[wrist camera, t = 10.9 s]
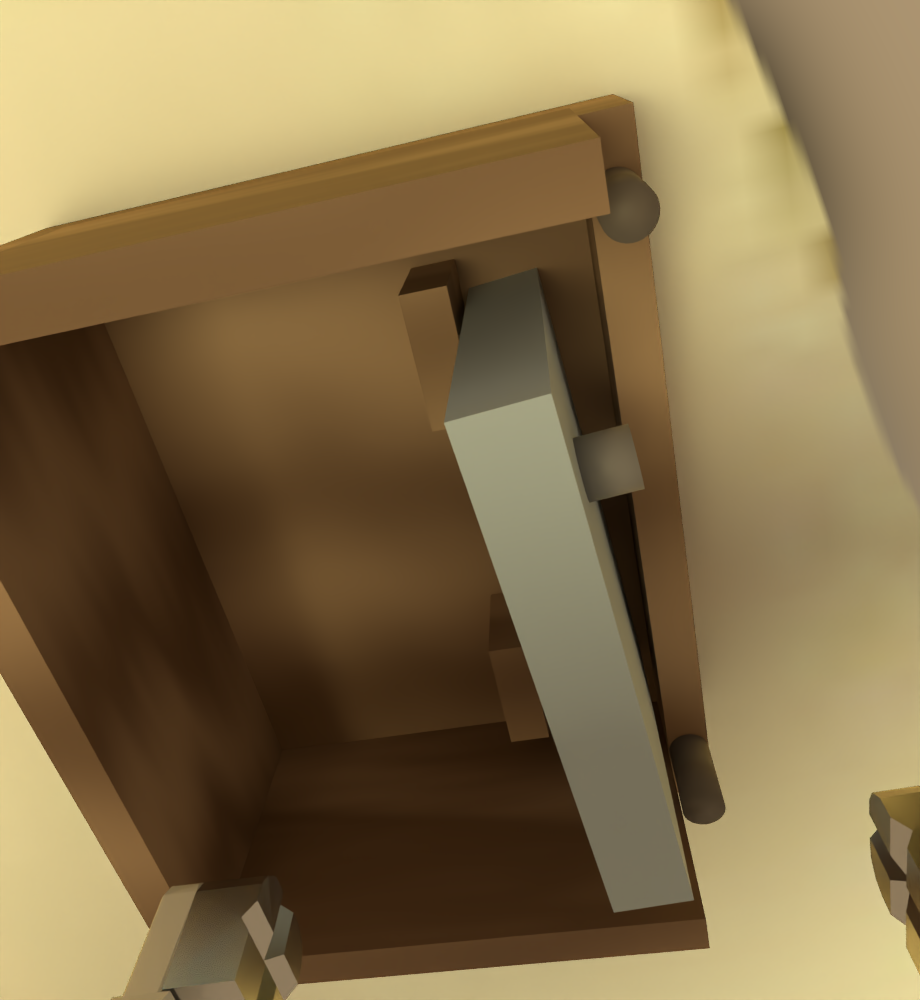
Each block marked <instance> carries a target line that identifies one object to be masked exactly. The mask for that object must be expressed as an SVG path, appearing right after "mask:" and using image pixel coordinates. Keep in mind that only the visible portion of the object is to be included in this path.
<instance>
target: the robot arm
mask: <svg viewBox="0 0 920 1000" xmlns="http://www.w3.org/2000/svg"><path fill="white" fill-rule="evenodd" d="M869 814H870V816H871V818H872V820H873V822H874V824H875V826H876V828H877V831H876V832H875V833H874V834H873V835H872V837H871V838H870V848H871V859H872V864H873V868H874V872H875V877H876V880H877V883H878V886H879V889H880V891H881V894H882V897H883V899H884V901H885V903H886V905H887V907H888V910H889V912H890V914H891V915H892V916H894V917H895V918H896V919H898V920H899V921H901V922H902V923H903V924H905V925H906V948H907V950H908V952H909V954H910V956H911V958H912V960H913V962H914V964H915V966H916V968H917V970H918V972H919V975H920V786H913V787H906V788H900V789H893V790H886V791H879V792H873V793H872V794H871V797H870V800H869ZM283 892H284V891H283V889H282V887H281V885H280V884H279V882H278V880H277V878H276V876H269V875H268V876H258V877H249V878H240V879H230V880H221V881H211V882H204V883H197V884H188V885H179V886H172V887H171V888H170V889H169V890H168V891H167V892H166V893H165V894H164V896H163V897H162V899H161V902H160V904H159V907H158V909H157V912H156V914H155V917H154V919H153V922H152V924H151V927H150V929H149V932H148V934H147V937H146V939H145V942H144V944H143V947H142V949H141V952H140V954H139V957H138V959H137V962H136V964H135V967H134V969H133V972H132V974H131V977H130V979H129V982H128V984H127V987H126V989H125V992H124V994H123V996H119V997H113V998H112V999H111V1000H285V999H286V998H287V997H288V996H289V995H290V993H291V992H292V991H293V990H294V988H295V987H296V986H297V985H298V982H299V977H300V971H301V966H302V938H301V933H300V928H299V924H298V922H297V920H296V917H295V915H294V913H293V912H292V911H290V910H288V909H287V908H285V907H284V906H282V905H280V904H281V900H282V896H283Z"/></svg>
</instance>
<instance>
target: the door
mask: <svg viewBox="0 0 920 1000" xmlns="http://www.w3.org/2000/svg"><path fill="white" fill-rule="evenodd" d="M444 425H445V427H446V430H447V433H448V436H449V439H450V442H451V445H452V448H453V451H454V453H455V456H456V459H457V462H458V465H459V468H460V471H461V474H462V476H463V479H464V482H465V485H466V488H467V491H468V494H469V497H470V500H471V502H472V505H473V508H474V511H475V514H476V517H477V520H478V523H479V525H480V528H481V531H482V534H483V537H484V540H485V543H486V546H487V548H488V551H489V554H490V557H491V560H492V563H493V566H494V569H495V572H496V574H497V577H498V580H499V583H500V586H501V589H502V592H503V595H504V597H505V600H506V603H507V606H508V609H509V612H510V615H511V618H512V621H513V623H514V626H515V629H516V632H517V635H518V638H519V641H520V644H521V646H522V649H523V652H524V655H525V658H526V661H527V664H528V667H529V670H530V672H531V675H532V678H533V681H534V684H535V687H536V690H537V693H538V695H539V698H540V701H541V704H542V707H543V710H544V713H545V716H546V719H547V721H548V724H549V727H550V730H551V733H552V736H553V739H554V742H555V744H556V747H557V750H558V753H559V756H560V759H561V762H562V765H563V768H564V770H565V773H566V776H567V779H568V782H569V785H570V788H571V791H572V793H573V796H574V799H575V802H576V805H577V808H578V811H579V814H580V817H581V819H582V822H583V825H584V828H585V831H586V834H587V837H588V840H589V842H590V845H591V848H592V851H593V854H594V857H595V860H596V863H597V866H598V868H599V871H600V874H601V877H602V880H603V883H604V886H605V889H606V891H607V894H608V897H609V900H610V903H611V906H612V909H613V912H614V913H615V912H621V911H628V910H634V909H640V908H647V907H653V906H660V905H666V904H673V903H679V902H686V901H692V900H694V898H693V893H692V888H691V884H690V879H689V874H688V870H687V865H686V860H685V856H684V851H683V846H682V842H681V837H680V832H679V828H678V823H677V818H676V814H675V809H674V804H673V800H672V795H671V790H670V786H669V781H668V776H667V772H666V767H665V762H664V758H663V753H662V748H661V744H660V739H659V734H658V730H657V725H656V720H655V716H654V711H653V706H652V702H651V697H650V692H649V688H648V683H647V678H646V674H645V669H644V664H643V660H642V655H641V650H640V646H639V643H638V639H637V635H636V632H635V628H634V624H633V621H632V617H631V613H630V609H629V606H628V602H627V598H626V595H625V591H624V587H623V584H622V580H621V576H620V572H619V569H618V565H617V561H616V558H615V554H614V550H613V547H612V543H611V539H610V536H609V532H608V528H607V524H606V521H605V517H604V513H603V510H602V506H601V502H600V500H602V499H606V498H610V497H614V496H618V495H622V494H626V493H630V492H634V491H638V490H642V489H645V487H644V482H643V478H642V474H641V470H640V466H639V461H638V458H637V454H636V450H635V446H634V442H633V438H632V435H631V431H630V428H629V425H628V424H624V425H620V426H616V427H613V428H609V429H605V430H601V431H597V432H594V433H590V434H586V435H582V432H581V428H580V425H579V421H578V417H577V414H576V410H575V406H574V403H573V399H572V395H571V391H570V388H569V384H568V380H567V377H566V373H565V369H564V366H563V362H562V358H561V355H560V351H559V347H558V343H557V340H556V336H555V332H554V329H553V325H552V321H551V318H550V314H549V310H548V306H547V303H546V299H545V295H544V292H543V288H542V284H541V281H540V277H539V273H538V270H537V268H534V269H531V270H527V271H524V272H521V273H517V274H514V275H511V276H507V277H504V278H501V279H498V280H494V281H491V282H488V283H484V284H481V285H478V286H474V287H471V288H469V290H468V296H467V301H466V307H465V312H464V317H463V323H462V328H461V333H460V339H459V344H458V350H457V355H456V360H455V366H454V371H453V376H452V382H451V387H450V393H449V398H448V403H447V409H446V414H445V419H444Z"/></svg>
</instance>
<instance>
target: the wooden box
mask: <svg viewBox="0 0 920 1000" xmlns="http://www.w3.org/2000/svg"><path fill="white" fill-rule="evenodd" d="M659 215H660V205H659V201H658V198H657V196H656V194H655V192H654V191H653V190H652V189H651V188H650V187H649V186H648V185H647V184H646V183H645V182H644V181H643V180H642V174H641V165H640V157H639V148H638V139H637V131H636V122H635V114H634V105H633V102H631V101H628V100H626V99H623V98H621V97H618V96H616V95H613V94H612V95H608V96H603V97H599V98H595V99H591V100H587V101H582V102H578V103H574V104H570V105H565V106H561V107H557V108H553V109H549V110H544V111H540V112H536V113H532V114H527V115H523V116H519V117H515V118H511V119H506V120H502V121H498V122H494V123H489V124H485V125H481V126H477V127H473V128H468V129H464V130H460V131H456V132H451V133H447V134H443V135H439V136H435V137H430V138H426V139H422V140H418V141H413V142H409V143H405V144H401V145H396V146H392V147H388V148H384V149H380V150H375V151H371V152H367V153H363V154H358V155H354V156H350V157H346V158H342V159H337V160H333V161H329V162H325V163H320V164H316V165H312V166H308V167H304V168H299V169H295V170H291V171H287V172H282V173H278V174H274V175H270V176H266V177H261V178H257V179H253V180H249V181H244V182H240V183H236V184H232V185H228V186H223V187H219V188H215V189H211V190H206V191H202V192H198V193H194V194H190V195H185V196H181V197H177V198H173V199H168V200H164V201H160V202H156V203H152V204H147V205H143V206H139V207H135V208H130V209H126V210H122V211H118V212H114V213H109V214H105V215H101V216H97V217H92V218H88V219H84V220H80V221H76V222H71V223H67V224H63V225H59V226H54V227H50V228H46V229H43V230H40V231H38V232H35V233H32V234H30V235H27V236H24V237H22V238H19V239H16V240H14V241H11V242H8V243H6V244H3V245H0V674H1V675H2V677H3V679H4V680H5V682H6V684H7V686H8V687H9V689H10V691H11V692H12V694H13V696H14V698H15V699H16V701H17V703H18V704H19V706H20V708H21V710H22V711H23V713H24V715H25V716H26V718H27V720H28V722H29V723H30V725H31V727H32V728H33V730H34V732H35V734H36V735H37V737H38V739H39V740H40V742H41V744H42V746H43V747H44V749H45V751H46V752H47V754H48V756H49V758H50V759H51V761H52V763H53V764H54V766H55V768H56V770H57V771H58V773H59V775H60V776H61V778H62V780H63V782H64V783H65V785H66V787H67V788H68V790H69V792H70V794H71V795H72V797H73V799H74V800H75V802H76V804H77V806H78V807H79V809H80V811H81V812H82V814H83V816H84V818H85V819H86V821H87V823H88V824H89V826H90V828H91V830H92V831H93V833H94V835H95V836H96V838H97V840H98V842H99V843H100V845H101V847H102V848H103V850H104V852H105V854H106V855H107V857H108V859H109V860H110V862H111V864H112V866H113V867H114V869H115V871H116V872H117V874H118V876H119V878H120V879H121V881H122V883H123V884H124V886H125V888H126V890H127V891H128V893H129V895H130V896H131V898H132V900H133V902H134V903H135V905H136V907H137V908H138V910H139V912H140V914H141V915H142V917H143V919H144V920H145V922H146V924H147V926H148V927H149V929H150V927H151V924H152V922H153V919H154V917H155V914H156V912H157V909H158V907H159V904H160V902H161V899H162V897H163V896H164V894H165V893H166V892H167V891H168V890H169V889H170V888H171V887H172V886H179V885H188V884H197V883H204V882H211V881H221V880H230V879H240V878H249V877H258V876H268V875H269V876H276V878H277V880H278V882H279V884H280V885H281V887H282V889H283V891H284V892H283V896H282V900H281V904H280V905H282V906H284V907H285V908H287V909H288V910H290V911H292V912H293V913H294V915H295V917H296V920H297V922H298V924H299V928H300V933H301V938H302V966H301V971H300V977H299V982H298V984H305V983H317V982H328V981H340V980H351V979H362V978H374V977H385V976H397V975H408V974H420V973H431V972H443V971H454V970H465V969H477V968H488V967H500V966H511V965H523V964H534V963H546V962H557V961H568V960H580V959H591V958H603V957H614V956H626V955H637V954H648V953H660V952H671V951H683V950H694V949H706V948H710V947H709V940H708V932H707V925H706V918H705V914H704V909H703V905H702V900H701V896H700V891H699V887H698V882H697V878H696V873H695V869H694V864H693V860H692V855H691V851H690V846H689V842H688V837H687V833H686V829H685V824H684V820H683V815H682V811H681V806H680V802H679V797H678V793H677V792H679V796H680V801H681V805H682V810H683V814H684V816H685V817H686V818H687V819H688V820H689V821H691V822H693V823H697V824H709V823H712V822H715V821H717V820H718V819H720V818H721V817H722V816H723V814H724V813H725V803H724V800H723V796H722V792H721V789H720V785H719V782H718V778H717V775H716V771H715V768H714V764H713V761H712V757H711V754H710V750H709V747H708V739H707V731H706V722H705V713H704V705H703V696H702V688H701V679H700V671H699V662H698V653H697V645H696V636H695V628H694V619H693V611H692V602H691V593H690V585H689V576H688V568H687V559H686V551H685V542H684V534H683V525H682V516H681V508H680V499H679V491H678V482H677V474H676V465H675V456H674V448H673V439H672V431H671V422H670V414H669V405H668V396H667V388H666V379H665V371H664V362H663V354H662V345H661V336H660V328H659V319H658V311H657V302H656V294H655V285H654V276H653V268H652V259H651V251H650V242H649V234H650V233H651V232H652V231H653V229H654V228H655V226H656V224H657V222H658V219H659ZM534 268H537V270H538V273H539V277H540V281H541V284H542V288H543V292H544V295H545V299H546V303H547V306H548V310H549V314H550V318H551V321H552V325H553V329H554V332H555V336H556V340H557V343H558V347H559V351H560V355H561V358H562V362H563V366H564V369H565V373H566V377H567V380H568V384H569V388H570V391H571V395H572V399H573V403H574V406H575V410H576V414H577V417H578V421H579V425H580V428H581V432H582V435H586V434H590V433H594V432H597V431H601V430H605V429H609V428H613V427H616V426H620V425H624V424H628V425H629V428H630V431H631V435H632V438H633V442H634V446H635V450H636V454H637V458H638V461H639V466H640V470H641V474H642V478H643V482H644V487H645V489H642V490H638V491H634V492H630V493H626V494H622V495H618V496H614V497H610V498H606V499H602V500H600V502H601V506H602V510H603V513H604V517H605V521H606V524H607V528H608V532H609V536H610V539H611V543H612V547H613V550H614V554H615V558H616V561H617V565H618V569H619V572H620V576H621V580H622V584H623V587H624V591H625V595H626V598H627V602H628V606H629V609H630V613H631V617H632V621H633V624H634V628H635V632H636V635H637V639H638V643H639V646H640V650H641V655H642V660H643V664H644V669H645V674H646V678H647V683H648V688H649V692H650V697H651V702H652V706H653V711H654V716H655V720H656V725H657V730H658V734H659V739H660V744H661V748H662V753H663V758H664V762H665V767H666V772H667V776H668V781H669V786H670V790H671V795H672V800H673V804H674V809H675V814H676V818H677V823H678V828H679V832H680V837H681V842H682V846H683V851H684V856H685V860H686V865H687V870H688V874H689V879H690V884H691V888H692V893H693V898H694V900H692V901H686V902H679V903H673V904H666V905H660V906H653V907H647V908H640V909H634V910H628V911H621V912H615V913H614V912H613V909H612V906H611V903H610V900H609V897H608V894H607V891H606V889H605V886H604V883H603V880H602V877H601V874H600V871H599V868H598V866H597V863H596V860H595V857H594V854H593V851H592V848H591V845H590V842H589V840H588V837H587V834H586V831H585V828H584V825H583V822H582V819H581V817H580V814H579V811H578V808H577V805H576V802H575V799H574V796H573V793H572V791H571V788H570V785H569V782H568V779H567V776H566V773H565V770H564V768H563V765H562V762H561V759H560V756H559V753H558V750H557V747H556V744H555V742H554V739H553V736H552V733H551V730H550V727H549V724H548V721H547V719H546V716H545V713H544V710H543V707H542V704H541V701H540V698H539V695H538V693H537V690H536V687H535V684H534V681H533V678H532V675H531V672H530V670H529V667H528V664H527V661H526V658H525V655H524V652H523V649H522V646H521V644H520V641H519V638H518V635H517V632H516V629H515V626H514V623H513V621H512V618H511V615H510V612H509V609H508V606H507V603H506V600H505V597H504V595H503V592H502V589H501V586H500V583H499V580H498V577H497V574H496V572H495V569H494V566H493V563H492V560H491V557H490V554H489V551H488V548H487V546H486V543H485V540H484V537H483V534H482V531H481V528H480V525H479V523H478V520H477V517H476V514H475V511H474V508H473V505H472V502H471V500H470V497H469V494H468V491H467V488H466V485H465V482H464V479H463V476H462V474H461V471H460V468H459V465H458V462H457V459H456V456H455V453H454V451H453V448H452V445H451V442H450V439H449V436H448V433H447V430H446V427H445V425H444V419H445V414H446V409H447V403H448V398H449V393H450V387H451V382H452V376H453V371H454V366H455V360H456V355H457V350H458V344H459V339H460V333H461V328H462V323H463V317H464V312H465V307H466V301H467V296H468V290H469V288H471V287H474V286H478V285H481V284H484V283H488V282H491V281H494V280H498V279H501V278H504V277H507V276H511V275H514V274H517V273H521V272H524V271H527V270H531V269H534Z"/></svg>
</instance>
